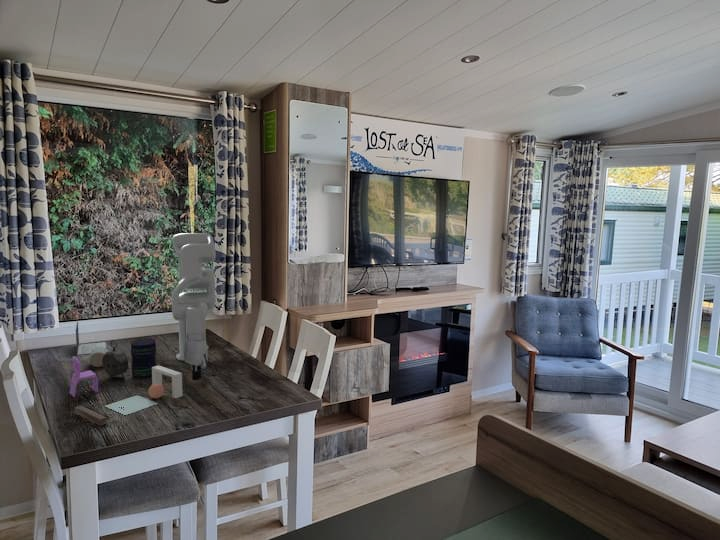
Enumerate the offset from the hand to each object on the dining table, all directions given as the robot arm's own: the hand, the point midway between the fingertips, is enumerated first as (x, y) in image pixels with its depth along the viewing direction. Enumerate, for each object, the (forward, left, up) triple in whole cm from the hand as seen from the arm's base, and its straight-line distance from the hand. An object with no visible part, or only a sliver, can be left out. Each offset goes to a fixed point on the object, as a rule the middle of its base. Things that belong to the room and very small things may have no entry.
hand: (196, 379), depth 208 cm
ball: (+19, +1, +1) cm, 20 cm away
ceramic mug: (+11, -51, -2) cm, 52 cm away
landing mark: (+29, 0, -2) cm, 29 cm away
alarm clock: (+17, -31, -2) cm, 35 cm away
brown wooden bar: (+44, 0, -2) cm, 44 cm away
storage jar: (+8, -24, -2) cm, 25 cm away
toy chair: (+33, -25, -2) cm, 41 cm away
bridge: (+14, 0, -2) cm, 14 cm away
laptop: (+1, -78, -2) cm, 78 cm away
